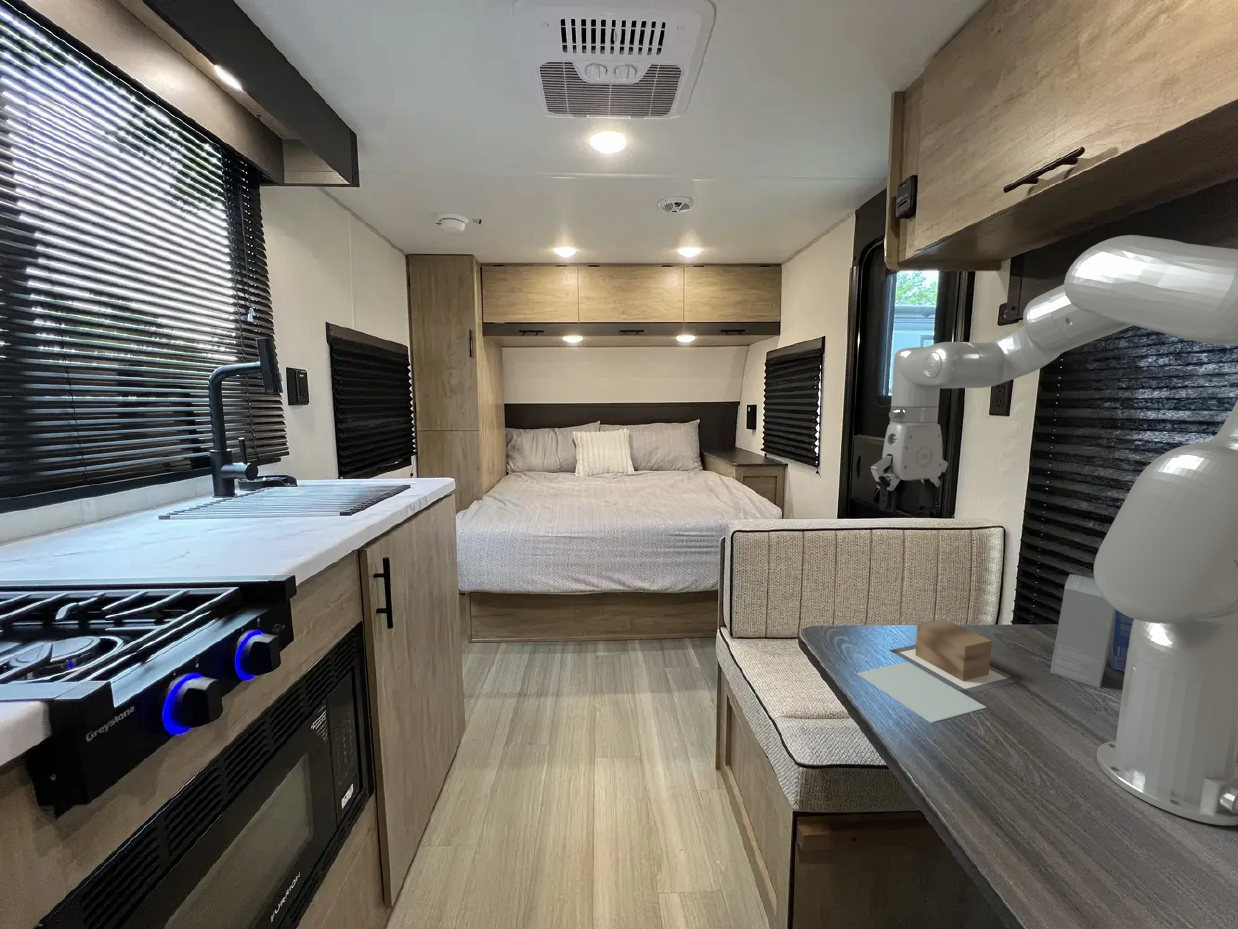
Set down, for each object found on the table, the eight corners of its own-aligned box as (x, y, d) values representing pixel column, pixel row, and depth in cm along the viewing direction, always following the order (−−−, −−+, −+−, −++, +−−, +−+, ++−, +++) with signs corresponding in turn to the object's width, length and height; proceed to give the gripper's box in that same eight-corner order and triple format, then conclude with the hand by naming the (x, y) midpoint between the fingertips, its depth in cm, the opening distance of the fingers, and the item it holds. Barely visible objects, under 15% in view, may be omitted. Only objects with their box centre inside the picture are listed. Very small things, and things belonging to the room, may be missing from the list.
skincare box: (1054, 656, 92) (1063, 571, 90) (1109, 671, 87) (1120, 581, 85) (1048, 674, 86) (1058, 584, 84) (1106, 691, 81) (1119, 596, 79)
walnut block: (988, 674, 86) (991, 640, 85) (962, 680, 84) (965, 646, 83) (940, 649, 94) (942, 618, 94) (915, 655, 92) (917, 623, 92)
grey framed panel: (1019, 686, 84) (1019, 680, 84) (966, 700, 80) (966, 694, 80) (937, 645, 98) (937, 639, 98) (888, 655, 94) (888, 650, 94)
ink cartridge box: (1110, 648, 95) (1119, 573, 93) (1153, 658, 91) (1164, 580, 89) (1108, 668, 88) (1118, 587, 86) (1154, 680, 84) (1166, 596, 82)
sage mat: (985, 713, 77) (986, 707, 77) (930, 728, 73) (931, 722, 73) (907, 667, 90) (907, 661, 90) (857, 678, 87) (857, 673, 86)
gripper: (893, 418, 87) (887, 516, 89) (968, 416, 92) (960, 509, 94) (860, 417, 94) (855, 508, 96) (930, 415, 99) (924, 501, 102)
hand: (907, 508), depth 95 cm, fingers open, 9 cm apart
